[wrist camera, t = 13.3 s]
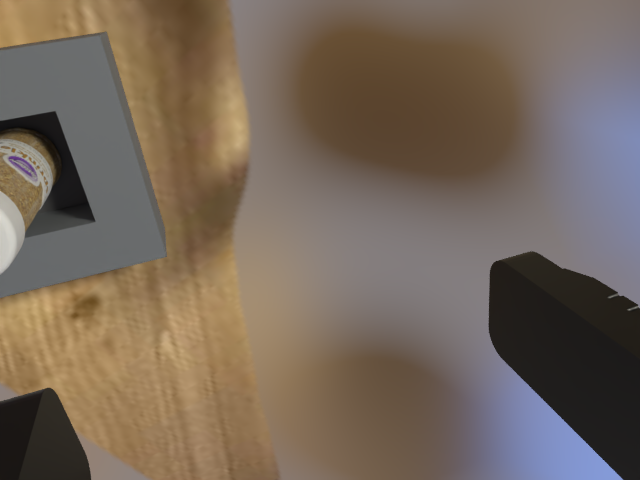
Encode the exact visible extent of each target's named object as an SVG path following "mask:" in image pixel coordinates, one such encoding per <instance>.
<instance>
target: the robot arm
mask: <svg viewBox="0 0 640 480" xmlns="http://www.w3.org/2000/svg"><path fill="white" fill-rule="evenodd" d="M489 294H490V295H489V333H490V337H491V340H492V343H493V345H494V347H495V349H496V351H497V353H498V354H499V356H500V357H501V358H502V359H503V360H504V361H505V362H506V363H507V364H508V365H509V366H510V367H511V368H512V369H513V370H514V371H515V372H516V373H517V374H518V375H519V376H520V377H521V378H522V379H523V380H524V381H525V382H526V383H527V384H528V385H529V386H530V387H531V388H532V389H533V390H534V391H535V392H536V393H537V394H538V395H539V396H540V397H541V398H542V399H543V400H544V401H545V402H546V403H547V404H548V405H549V406H550V407H551V408H552V409H553V410H554V411H555V412H556V413H557V414H558V415H559V416H560V417H561V418H562V419H563V420H564V421H565V422H566V423H567V424H568V425H569V426H570V427H571V428H572V429H573V430H574V431H575V432H576V433H577V434H578V435H579V436H580V437H581V438H582V439H583V440H584V441H585V442H586V443H587V444H588V445H589V446H590V447H591V448H592V449H593V450H594V451H595V452H596V453H597V454H598V455H599V456H600V457H601V458H602V459H603V460H604V461H605V462H606V463H607V464H608V465H609V466H610V467H611V468H612V469H613V470H614V471H615V472H616V473H617V474H618V475H619V476H620V477H621V478H622V479H623V480H640V308H639V307H638V304H636V303H634V302H633V301H631V300H629V299H628V298H626V297H624V296H619V295H618V292H616V291H614V290H613V289H611V288H609V287H608V286H606V285H605V284H603V283H601V282H600V281H598V280H596V279H595V278H592V277H589V276H586V275H583V274H580V273H577V272H574V271H571V270H567V269H562V268H560V267H559V266H557V265H556V264H554V263H553V262H551V261H550V260H548V259H546V258H545V257H543V256H541V255H540V254H538V253H536V252H527V253H523V254H520V255H516V256H513V257H509V258H506V259H503V260H499V261H496V262H494V263H493V265H492V266H491V270H490V293H489ZM0 480H91V474H90V468H89V463H88V460H87V456H86V454H85V451H84V450H83V447H82V445H81V443H80V441H79V439H78V437H77V435H76V433H75V431H74V428H73V426H72V424H71V422H70V420H69V418H68V416H67V414H66V412H65V410H64V408H63V405H62V403H61V401H60V399H59V397H58V395H57V394H56V392H55V391H54V390H53V389H51V388H46V389H42V390H39V391H35V392H32V393H28V394H25V395H21V396H18V397H14V398H11V399H8V400H4V401H0Z"/></svg>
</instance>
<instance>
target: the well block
mask: <svg viewBox="0 0 640 480" xmlns="http://www.w3.org/2000/svg"><path fill="white" fill-rule="evenodd" d="M16 127H19V128H26V129H31V130H34V131H37V132H38V133H40V134H43V135H45V136H46V137H47V138H48V139H49V140H50V141H51V142H52V143H53V145H55V148H56V149H57V150H58V152H59V154H60V157H61V162H62V169H61V175H60V177H59V179H58V181H57V182H56V184H55V185H54V186H53V187H52V189H51V191H50V194H49V195H48V197H47V199H46V201H45V202H44V204H43V206H42V208H41V209H40V210H39V211H38V212H37V214H36V215H35V217H34V219H33V221H32V222H31V224H30V226H29V227H28V229H27V230H26V232H25V237H24V242H23V245H22V247H21V249H20V250H19V252H18V254H17V255H16V257H15V259H14V260H13V262H12V263H11V264H10V266H9V267H8V268H7V269H6V270H5V271H4V272H3V273H2V274H0V298H1V297H5V296H9V295H13V294H17V293H22V292H26V291H30V290H34V289H38V288H42V287H46V286H50V285H54V284H58V283H62V282H66V281H70V280H74V279H78V278H82V277H86V276H91V275H95V274H99V273H103V272H107V271H111V270H115V269H119V268H123V267H127V266H131V265H135V264H139V263H143V262H147V261H151V260H155V259H160V258H164V257H167V253H166V238H165V227H164V224H163V221H162V217H161V214H160V211H159V207H158V204H157V200H156V197H155V194H154V190H153V187H152V184H151V180H150V177H149V173H148V170H147V167H146V163H145V160H144V157H143V153H142V150H141V146H140V143H139V140H138V136H137V133H136V130H135V126H134V123H133V119H132V116H131V113H130V109H129V106H128V103H127V99H126V96H125V92H124V89H123V86H122V82H121V79H120V76H119V72H118V69H117V65H116V62H115V59H114V55H113V52H112V49H111V45H110V42H109V38H108V35H107V32H101V33H95V34H88V35H82V36H75V37H69V38H62V39H56V40H49V41H43V42H36V43H29V44H23V45H16V46H10V47H3V48H0V131H3V130H5V129H9V128H16Z"/></svg>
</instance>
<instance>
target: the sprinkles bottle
mask: <svg viewBox="0 0 640 480" xmlns="http://www.w3.org/2000/svg"><path fill="white" fill-rule="evenodd" d="M61 169H62V162H61V157H60V154H59V152H58V150H57V149H56V148H55V145H53V143H52V142H51V141H50V140H49V139H48V138H47V137H46V136H45V135H43V134H40V133H38V132H37V131H34V130H31V129H26V128H19V127H16V128H9V129H5V130H3V131H0V274H2V273H3V272H4V271H5V270H6V269H7V268H8V267H9V266H10V264H11V263H12V262H13V260H14V259H15V257H16V255H17V254H18V252H19V250H20V249H21V247H22V245H23V242H24V237H25V232H26V230H27V229H28V227H29V226H30V224H31V222H32V221H33V219H34V217H35V215H36V214H37V212H38V211H39V210H40V209H41V208H42V206H43V204H44V202H45V201H46V199H47V197H48V195H49V194H50V191H51V189H52V187H53V186H54V185H55V184H56V182H57V181H58V179H59V177H60V175H61Z"/></svg>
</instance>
